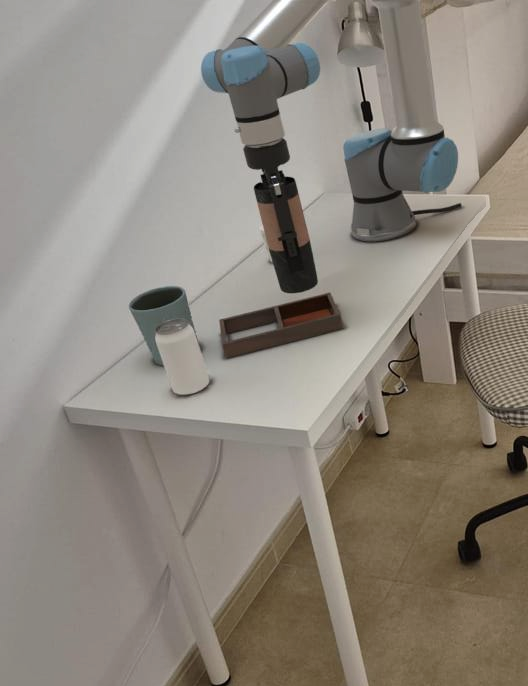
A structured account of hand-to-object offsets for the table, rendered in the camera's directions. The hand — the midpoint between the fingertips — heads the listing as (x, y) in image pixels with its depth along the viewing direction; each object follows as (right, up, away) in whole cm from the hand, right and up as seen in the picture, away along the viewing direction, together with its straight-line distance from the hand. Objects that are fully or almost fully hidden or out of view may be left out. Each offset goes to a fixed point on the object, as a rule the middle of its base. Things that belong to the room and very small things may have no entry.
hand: (293, 262), depth 162 cm
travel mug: (+1, -4, +2) cm, 5 cm away
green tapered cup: (-23, -17, +3) cm, 29 cm away
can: (-16, -23, -9) cm, 29 cm away
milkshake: (-11, +5, +38) cm, 40 cm away
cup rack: (-3, -13, +5) cm, 14 cm away
